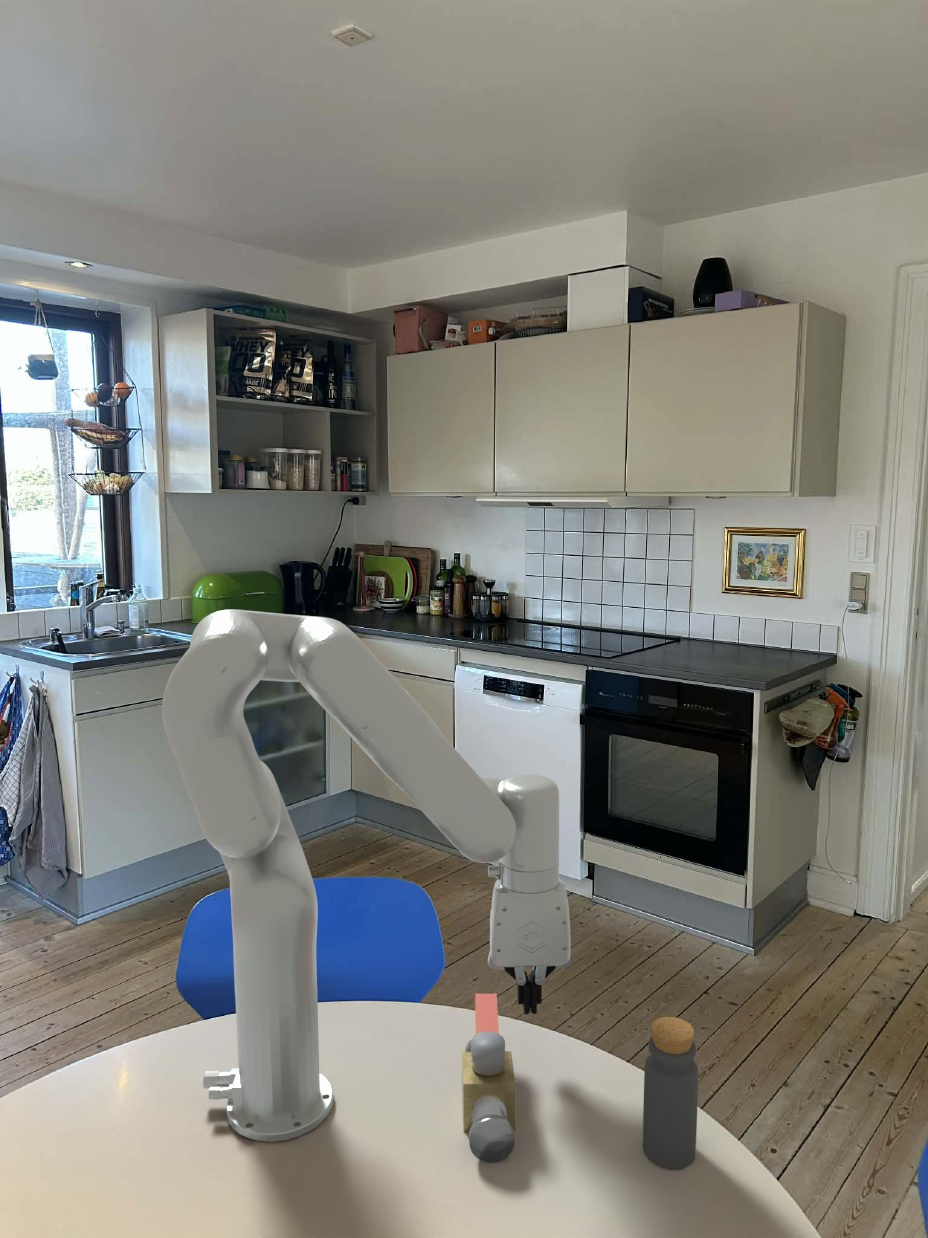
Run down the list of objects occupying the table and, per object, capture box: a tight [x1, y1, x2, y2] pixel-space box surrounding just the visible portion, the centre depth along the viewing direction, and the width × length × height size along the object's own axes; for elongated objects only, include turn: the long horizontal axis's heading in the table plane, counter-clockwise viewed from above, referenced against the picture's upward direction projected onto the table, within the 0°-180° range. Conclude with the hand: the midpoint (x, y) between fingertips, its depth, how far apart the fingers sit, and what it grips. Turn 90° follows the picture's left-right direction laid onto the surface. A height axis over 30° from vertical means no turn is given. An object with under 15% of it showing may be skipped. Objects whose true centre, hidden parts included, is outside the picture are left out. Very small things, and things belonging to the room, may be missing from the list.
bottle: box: [642, 1016, 699, 1171], centre depth 102 cm, size 6×6×15 cm
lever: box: [470, 993, 506, 1076], centre depth 113 cm, size 14×4×3 cm, turn 0°
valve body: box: [461, 1038, 516, 1164], centre depth 109 cm, size 6×16×6 cm, turn 2°
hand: (529, 1008), depth 118 cm, fingers closed
